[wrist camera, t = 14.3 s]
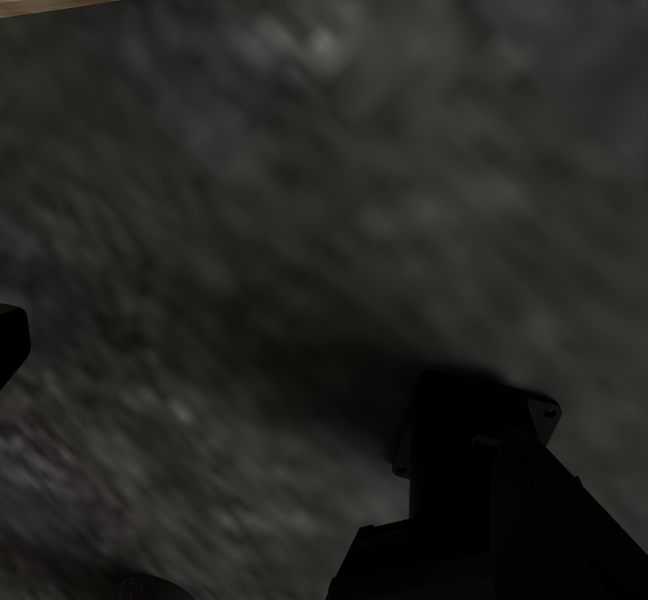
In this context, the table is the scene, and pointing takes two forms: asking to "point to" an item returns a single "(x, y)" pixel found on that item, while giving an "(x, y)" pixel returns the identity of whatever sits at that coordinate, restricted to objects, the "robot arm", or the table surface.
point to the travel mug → (148, 590)
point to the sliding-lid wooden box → (41, 6)
